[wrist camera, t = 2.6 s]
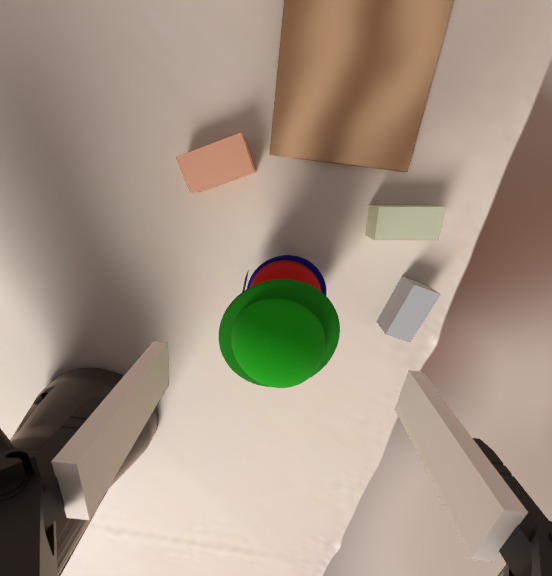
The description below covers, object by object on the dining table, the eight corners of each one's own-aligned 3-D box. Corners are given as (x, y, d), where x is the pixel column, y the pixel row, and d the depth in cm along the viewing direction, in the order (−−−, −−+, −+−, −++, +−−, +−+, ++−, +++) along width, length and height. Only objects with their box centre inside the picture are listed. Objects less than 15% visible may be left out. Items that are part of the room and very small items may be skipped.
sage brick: (364, 234, 28) (374, 240, 25) (368, 204, 27) (378, 206, 24) (422, 235, 28) (438, 240, 25) (428, 204, 26) (446, 206, 24)
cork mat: (269, 154, 25) (269, 153, 24) (287, -33, 20) (288, -39, 20) (404, 172, 25) (407, 171, 25) (452, -9, 21) (457, -14, 20)
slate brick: (398, 328, 31) (410, 342, 29) (376, 320, 31) (385, 334, 28) (425, 284, 29) (440, 294, 27) (401, 275, 29) (414, 284, 26)
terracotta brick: (200, 192, 26) (190, 192, 24) (187, 160, 25) (175, 157, 23) (256, 171, 26) (253, 169, 23) (245, 138, 25) (241, 132, 22)
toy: (291, 331, 32) (299, 446, 18) (227, 297, 30) (181, 391, 16) (335, 270, 29) (387, 348, 15) (267, 228, 27) (254, 271, 13)
